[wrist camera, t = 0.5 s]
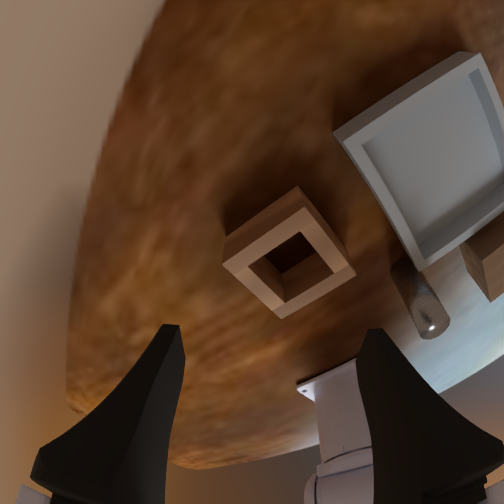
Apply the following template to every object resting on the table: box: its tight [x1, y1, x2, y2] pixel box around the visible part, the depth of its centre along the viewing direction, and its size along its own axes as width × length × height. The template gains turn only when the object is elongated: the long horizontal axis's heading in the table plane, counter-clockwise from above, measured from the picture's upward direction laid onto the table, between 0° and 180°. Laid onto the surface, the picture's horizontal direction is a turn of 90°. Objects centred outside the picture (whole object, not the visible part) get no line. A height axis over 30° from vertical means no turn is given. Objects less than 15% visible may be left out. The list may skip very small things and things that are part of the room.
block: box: [460, 211, 504, 303], centre depth 18 cm, size 5×5×4 cm
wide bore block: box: [222, 185, 357, 319], centre depth 19 cm, size 6×6×3 cm
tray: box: [332, 51, 504, 272], centre depth 16 cm, size 10×10×2 cm
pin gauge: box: [391, 258, 450, 340], centre depth 19 cm, size 2×2×6 cm
